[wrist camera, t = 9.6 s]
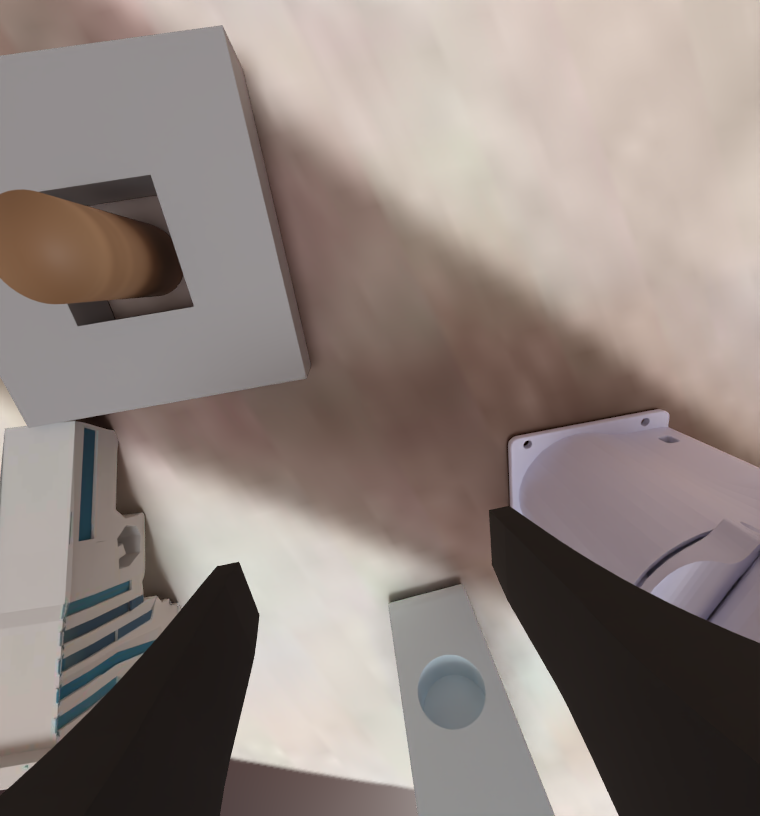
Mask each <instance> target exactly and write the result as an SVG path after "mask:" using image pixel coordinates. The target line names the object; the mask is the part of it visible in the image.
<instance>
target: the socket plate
mask: <svg viewBox="0 0 760 816" xmlns="http://www.w3.org/2000/svg"><path fill="white" fill-rule="evenodd" d="M22 189H25V190H32V191H36V192H40V193H44V194H47V195H51V196H54V197H58V198H61V199H64V200H68V201H71V202H75V203H78V204H82V205H85V206H88V205H95V204H101V203H108V202H114V201H120V200H127V199H133V198H140V197H146V196H153V195H157V196H158V199H159V202H160V205H161V208H162V211H163V214H164V217H165V220H166V223H167V226H168V229H169V232H170V235H171V238H172V241H173V244H174V247H175V250H176V253H177V256H178V259H179V262H180V265H181V268H182V272H183V275H184V278H185V281H186V284H187V287H188V290H189V293H190V296H191V299H192V302H193V305H194V307H189V308H183V309H177V310H171V311H165V312H159V313H154V314H148V315H142V316H136V317H130V318H124V319H118V320H115V318H114V316H113V313H112V311H111V308H110V306H109V303H108V301H107V300H105V301H93V302H81V303H69V304H46V303H41V302H37V301H34V300H32V299H29V298H27V297H25V296H23V295H21V294H19V293H18V292H16V291H15V290H13V289H12V288H10V287H9V286H8V285H7V284H6V283H5V282H4V281H3V280H2V279H1V278H0V377H1V379H2V381H3V383H4V384H5V386H6V388H7V390H8V392H9V393H10V395H11V397H12V399H13V401H14V402H15V404H16V406H17V408H18V410H19V412H20V413H21V415H22V417H23V419H24V421H25V422H26V424H27V426H28V428H32V427H37V426H43V425H49V424H54V423H60V422H65V421H71V420H77V419H82V418H88V417H93V416H99V415H105V414H110V413H116V412H121V411H127V410H133V409H138V408H144V407H149V406H155V405H161V404H166V403H172V402H177V401H183V400H189V399H194V398H200V397H205V396H211V395H217V394H222V393H228V392H233V391H239V390H245V389H250V388H256V387H261V386H267V385H273V384H278V383H284V382H289V381H295V380H301V379H306V378H307V376H308V373H309V370H310V368H311V363H310V359H309V354H308V350H307V346H306V341H305V337H304V333H303V328H302V324H301V320H300V315H299V311H298V307H297V302H296V298H295V294H294V289H293V285H292V281H291V276H290V272H289V268H288V263H287V259H286V255H285V250H284V246H283V242H282V237H281V233H280V229H279V224H278V220H277V216H276V211H275V207H274V203H273V198H272V194H271V190H270V185H269V181H268V177H267V172H266V168H265V163H264V159H263V155H262V150H261V146H260V142H259V137H258V133H257V129H256V124H255V120H254V116H253V111H252V107H251V103H250V98H249V94H248V90H247V85H246V81H245V77H244V72H243V68H242V66H241V64H240V62H239V60H238V58H237V56H236V53H235V51H234V49H233V47H232V45H231V43H230V41H229V39H228V36H227V34H226V32H225V30H224V28H223V26H222V25H221V26H214V27H207V28H200V29H192V30H185V31H178V32H170V33H163V34H156V35H148V36H141V37H134V38H127V39H119V40H112V41H105V42H97V43H90V44H83V45H76V46H68V47H61V48H54V49H46V50H39V51H32V52H25V53H17V54H10V55H3V56H0V194H1V193H4V192H7V191H11V190H22Z"/></svg>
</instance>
